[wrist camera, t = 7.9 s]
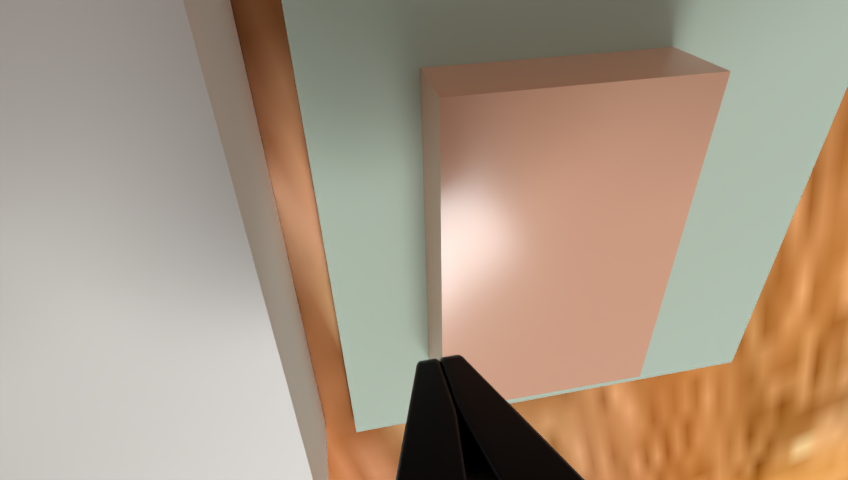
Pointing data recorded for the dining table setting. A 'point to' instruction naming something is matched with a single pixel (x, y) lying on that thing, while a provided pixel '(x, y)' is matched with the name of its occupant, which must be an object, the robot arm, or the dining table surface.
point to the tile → (559, 208)
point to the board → (143, 254)
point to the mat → (537, 38)
